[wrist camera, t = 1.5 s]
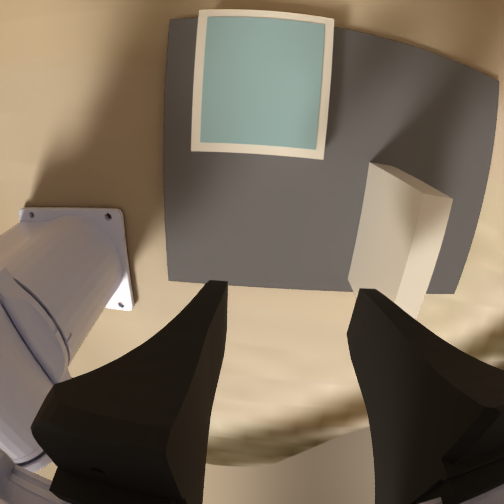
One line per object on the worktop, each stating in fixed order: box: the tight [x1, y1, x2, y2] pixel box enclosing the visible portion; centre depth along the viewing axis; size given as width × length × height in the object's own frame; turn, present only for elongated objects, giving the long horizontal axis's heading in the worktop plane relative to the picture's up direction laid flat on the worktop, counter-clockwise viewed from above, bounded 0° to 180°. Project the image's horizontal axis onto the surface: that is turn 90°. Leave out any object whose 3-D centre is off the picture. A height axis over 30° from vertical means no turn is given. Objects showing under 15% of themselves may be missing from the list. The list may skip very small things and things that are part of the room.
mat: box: [164, 18, 499, 294], centre depth 18 cm, size 22×17×1 cm
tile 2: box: [348, 162, 453, 320], centre depth 16 cm, size 2×8×7 cm, turn 176°
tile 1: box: [191, 9, 334, 160], centre depth 15 cm, size 7×8×2 cm
